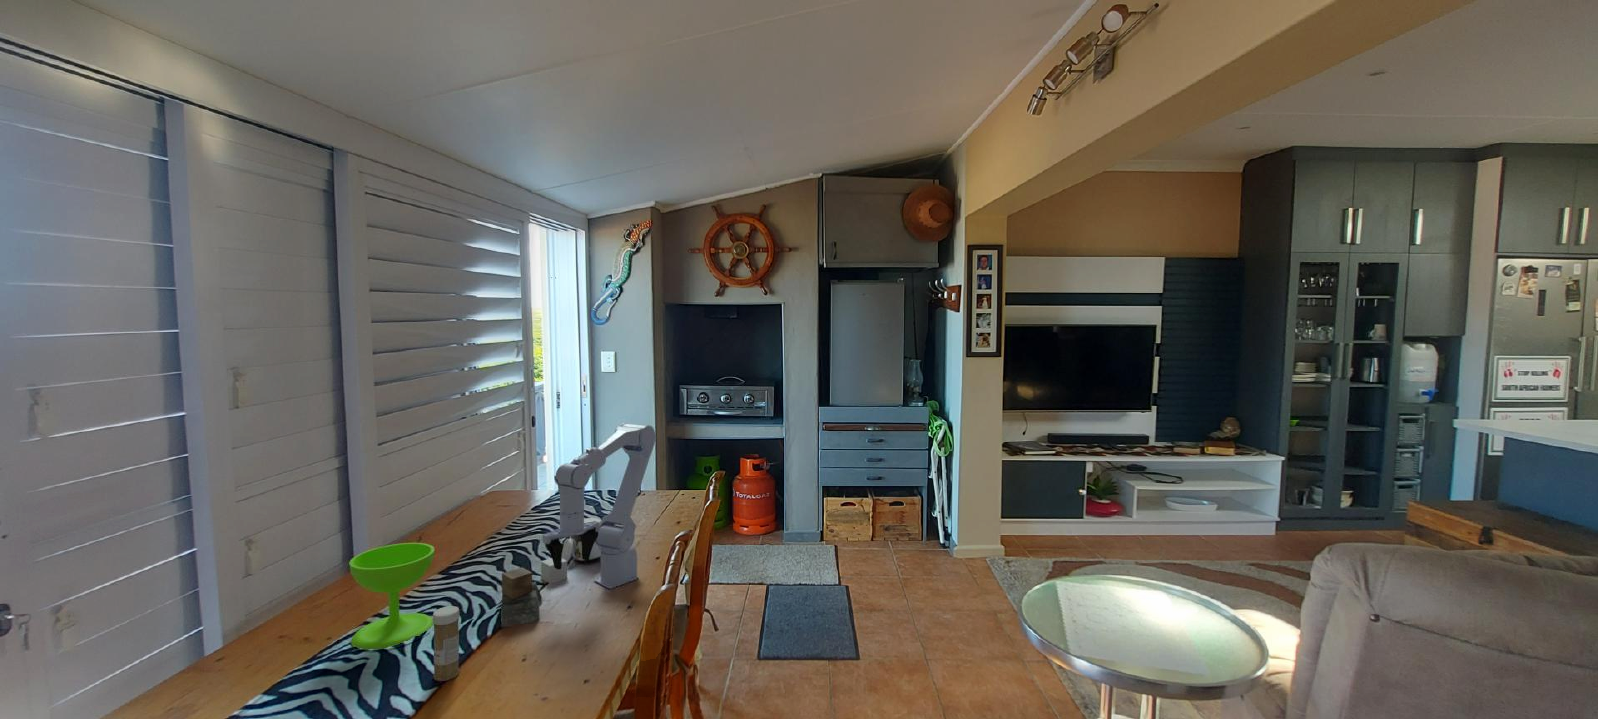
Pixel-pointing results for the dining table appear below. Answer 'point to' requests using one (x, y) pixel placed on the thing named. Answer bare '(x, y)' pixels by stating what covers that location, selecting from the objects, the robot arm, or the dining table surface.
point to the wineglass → (392, 591)
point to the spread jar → (580, 548)
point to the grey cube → (553, 571)
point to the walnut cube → (516, 583)
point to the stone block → (521, 608)
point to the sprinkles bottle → (446, 643)
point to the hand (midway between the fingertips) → (571, 563)
